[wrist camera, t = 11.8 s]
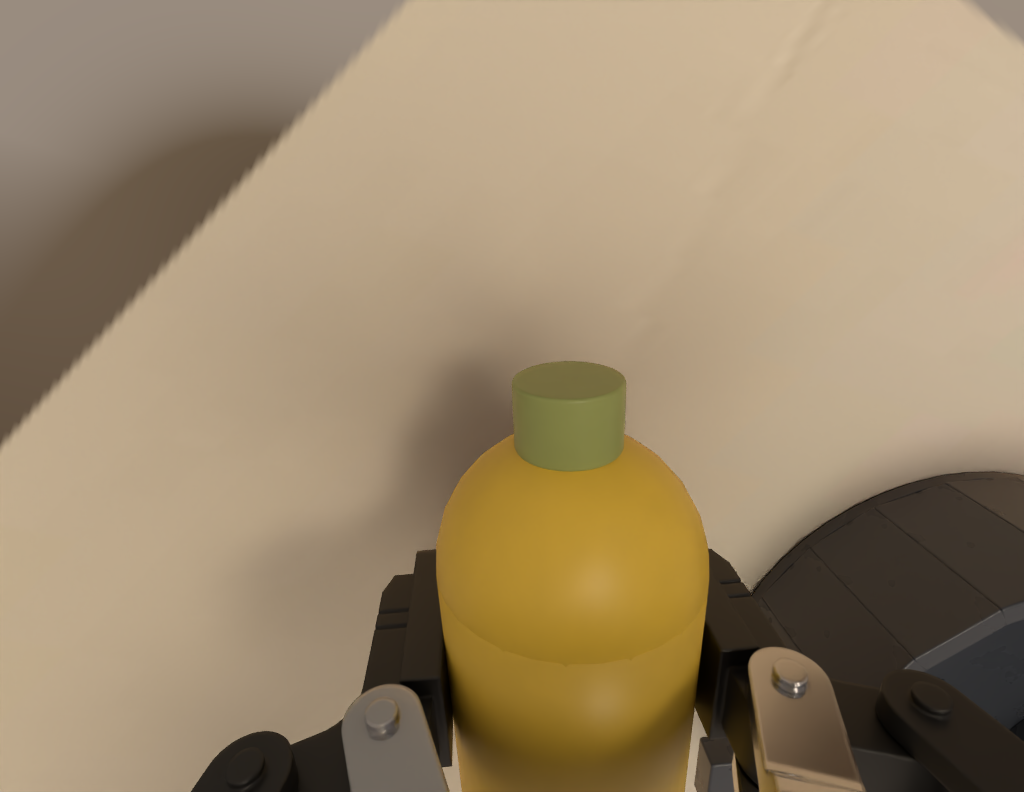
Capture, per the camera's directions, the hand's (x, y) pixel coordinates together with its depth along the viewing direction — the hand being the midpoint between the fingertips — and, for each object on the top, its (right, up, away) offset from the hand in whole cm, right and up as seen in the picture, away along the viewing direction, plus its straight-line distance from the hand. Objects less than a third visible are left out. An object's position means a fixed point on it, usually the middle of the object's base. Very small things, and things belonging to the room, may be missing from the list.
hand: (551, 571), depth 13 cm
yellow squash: (0, 0, 0) cm, 0 cm away
